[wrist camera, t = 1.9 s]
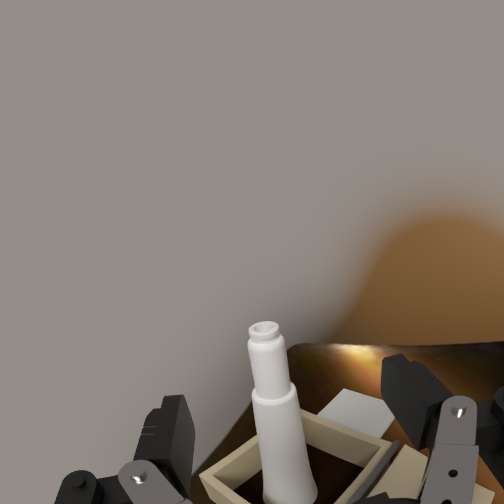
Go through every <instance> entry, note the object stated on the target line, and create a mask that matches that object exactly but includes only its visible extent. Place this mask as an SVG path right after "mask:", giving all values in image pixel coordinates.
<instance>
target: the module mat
mask: <svg viewBox="0 0 504 504" xmlns="http://www.w3.org/2000/svg"><path fill="white" fill-rule="evenodd" d="M317 416H319V417H322V418H324V419H327V420H329V421H332V422H334V423H337V424H340V425H342V426H345V427H348V428H350V429H353V430H356V431H359V432H362V433H364V434H367V435H370V436H373V437H376V438H379V439H380V438H381V437H382V436H383V434H384V433H385V432H386V430H387V429H388V427H389V426H390V425H391V423H392V422H393V420H394V419H395V417H394V415H393V414H392V412H391V411H390V409H389V408H388V406H387V405H386V403H385V402H384V400H381V399H377V398H374V397H370V396H367V395H364V394H360V393H357V392H354V391H351V390H347V389H343V390H342V391H341V392H340V393H339V394H338V395H337V396H336V397H335V398H334V399H333V400H332V401H331V402H330V403H329V404H328V405H327V406H326V407H325V408H324V409H323V410H322V411H321V412H320V413H319V414H317Z"/></svg>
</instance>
